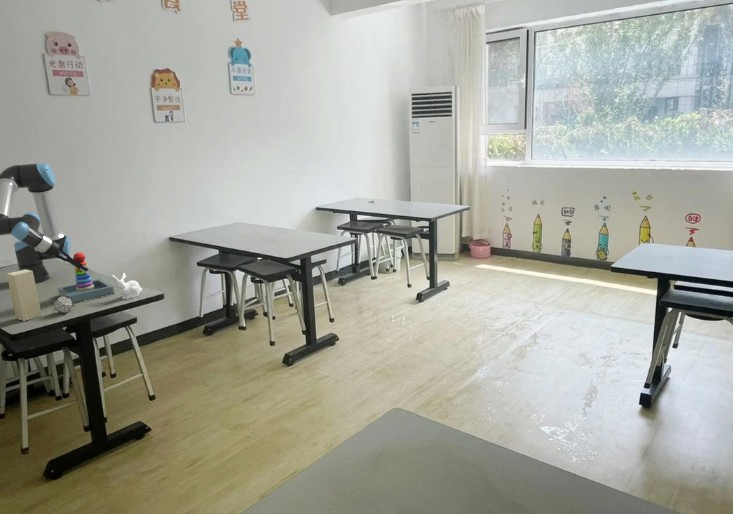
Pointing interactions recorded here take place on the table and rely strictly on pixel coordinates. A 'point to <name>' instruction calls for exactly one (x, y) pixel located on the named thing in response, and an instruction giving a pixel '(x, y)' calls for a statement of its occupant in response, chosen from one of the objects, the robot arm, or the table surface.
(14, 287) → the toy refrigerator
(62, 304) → the game die
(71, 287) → the tray
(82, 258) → the stacking toy
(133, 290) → the rabbit
